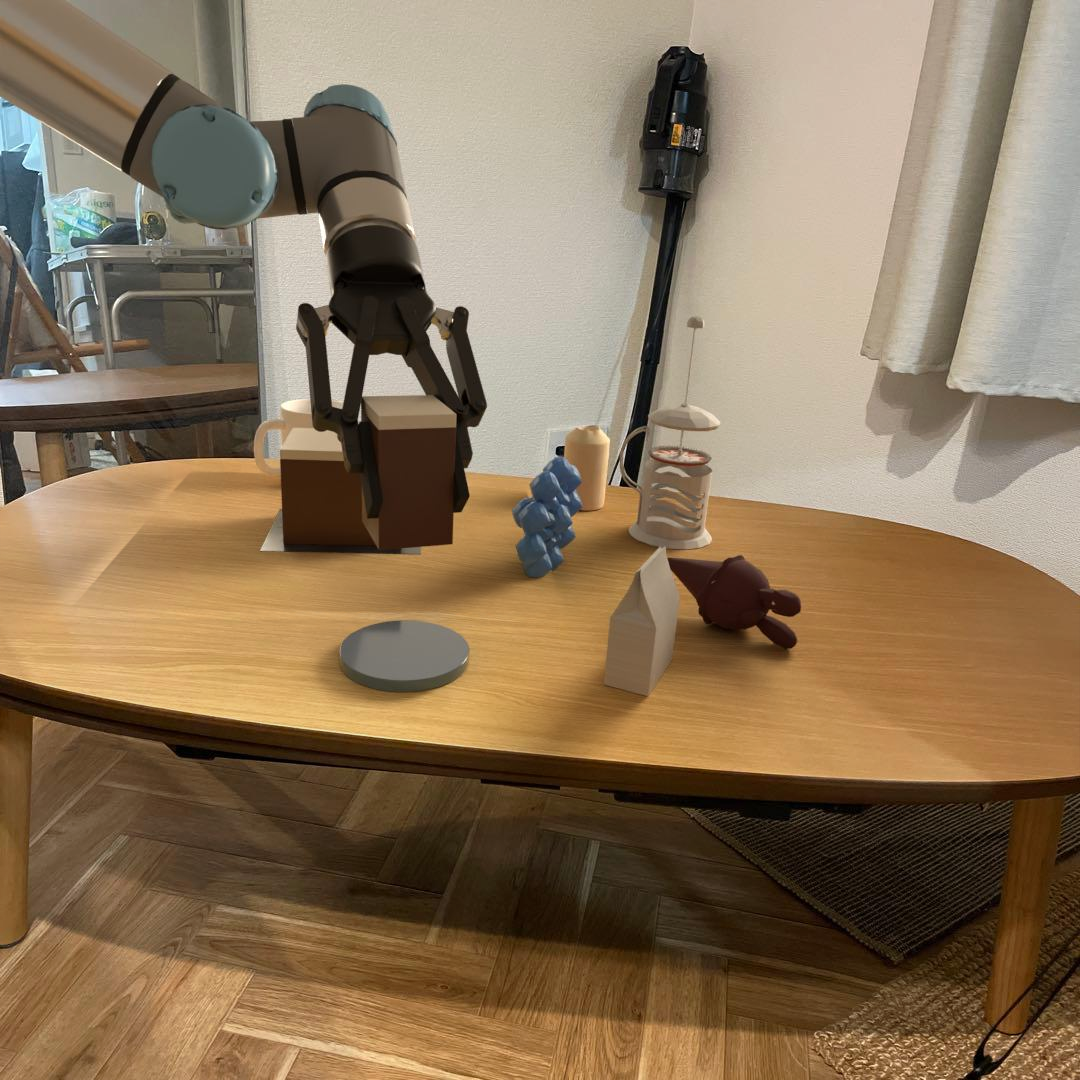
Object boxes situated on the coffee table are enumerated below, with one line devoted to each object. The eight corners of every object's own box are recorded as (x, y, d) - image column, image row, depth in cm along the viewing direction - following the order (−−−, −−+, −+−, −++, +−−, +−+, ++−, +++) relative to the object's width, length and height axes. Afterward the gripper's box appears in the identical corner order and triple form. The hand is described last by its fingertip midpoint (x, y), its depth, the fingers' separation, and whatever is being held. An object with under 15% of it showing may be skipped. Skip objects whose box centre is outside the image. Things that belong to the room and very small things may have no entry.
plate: (333, 692, 67) (332, 680, 67) (345, 629, 77) (345, 619, 77) (471, 692, 69) (472, 680, 68) (466, 630, 78) (467, 620, 78)
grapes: (532, 547, 98) (539, 440, 94) (589, 560, 96) (599, 451, 92) (482, 582, 88) (487, 465, 84) (544, 598, 86) (553, 478, 82)
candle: (581, 494, 117) (587, 419, 114) (612, 505, 114) (620, 428, 110) (551, 502, 113) (557, 424, 110) (583, 514, 110) (590, 434, 106)
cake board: (260, 560, 90) (259, 550, 90) (280, 516, 102) (280, 508, 102) (420, 563, 92) (420, 554, 92) (422, 520, 104) (422, 512, 104)
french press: (712, 553, 100) (745, 325, 91) (609, 541, 102) (631, 316, 93) (711, 525, 109) (741, 315, 100) (616, 514, 111) (637, 306, 102)
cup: (361, 489, 113) (360, 410, 110) (268, 502, 106) (264, 418, 103) (334, 472, 119) (332, 396, 116) (244, 483, 112) (240, 403, 109)
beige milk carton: (671, 660, 76) (686, 550, 72) (648, 696, 70) (662, 578, 66) (630, 649, 77) (642, 541, 73) (603, 684, 71) (615, 568, 68)
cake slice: (378, 550, 65) (378, 416, 62) (361, 521, 71) (360, 396, 67) (452, 544, 67) (456, 413, 64) (430, 516, 73) (433, 394, 69)
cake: (283, 544, 92) (279, 449, 88) (295, 514, 100) (292, 427, 97) (401, 546, 93) (402, 453, 90) (404, 517, 102) (405, 431, 98)
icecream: (639, 545, 83) (776, 616, 73) (691, 513, 87) (827, 576, 77) (639, 604, 87) (769, 678, 77) (689, 571, 91) (818, 637, 81)
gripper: (470, 286, 80) (524, 520, 71) (251, 280, 73) (282, 538, 65) (491, 225, 73) (554, 476, 65) (253, 213, 67) (289, 490, 58)
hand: (418, 506), depth 65 cm, fingers closed on cake slice, 6 cm apart
